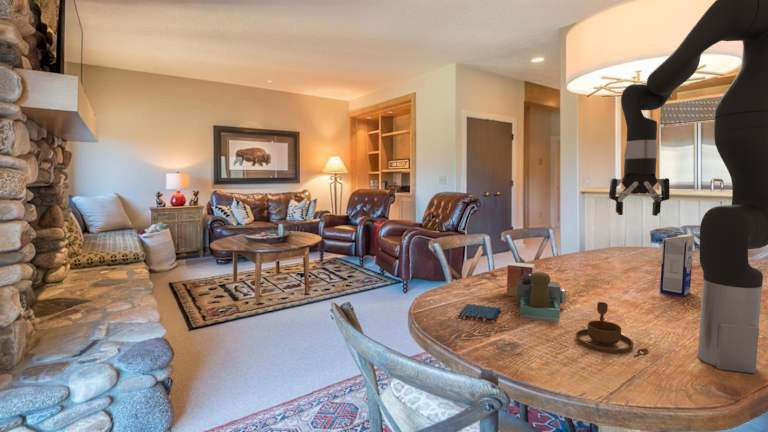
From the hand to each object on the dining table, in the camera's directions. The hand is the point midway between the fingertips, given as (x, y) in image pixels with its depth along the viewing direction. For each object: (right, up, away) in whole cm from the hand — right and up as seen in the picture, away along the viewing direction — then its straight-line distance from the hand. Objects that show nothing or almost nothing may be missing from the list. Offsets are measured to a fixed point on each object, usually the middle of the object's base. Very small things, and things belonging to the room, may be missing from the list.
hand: (637, 215), depth 112 cm
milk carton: (+26, -26, +21) cm, 42 cm away
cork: (-28, -27, +1) cm, 39 cm away
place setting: (-17, -31, -16) cm, 39 cm away
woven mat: (-44, -29, +1) cm, 53 cm away
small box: (-27, -27, +19) cm, 42 cm away
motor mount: (-26, -28, +4) cm, 38 cm away
